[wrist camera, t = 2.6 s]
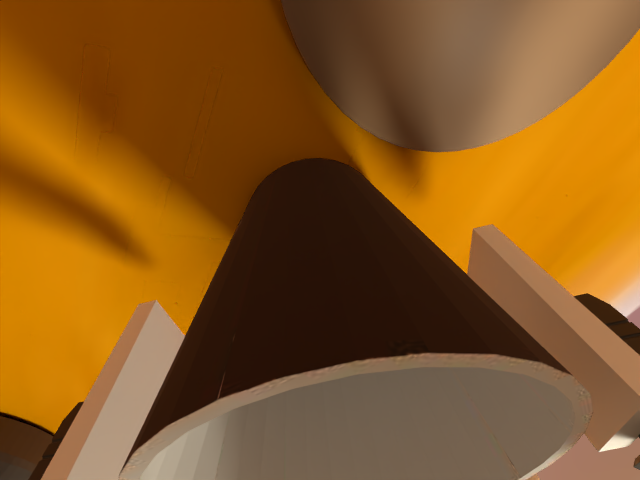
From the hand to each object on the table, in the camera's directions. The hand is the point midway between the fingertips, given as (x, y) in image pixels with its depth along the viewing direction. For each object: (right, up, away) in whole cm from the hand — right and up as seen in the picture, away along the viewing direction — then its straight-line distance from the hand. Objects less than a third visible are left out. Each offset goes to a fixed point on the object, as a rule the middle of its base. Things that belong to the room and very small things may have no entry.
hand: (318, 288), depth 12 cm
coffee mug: (-1, +2, +3) cm, 3 cm away
